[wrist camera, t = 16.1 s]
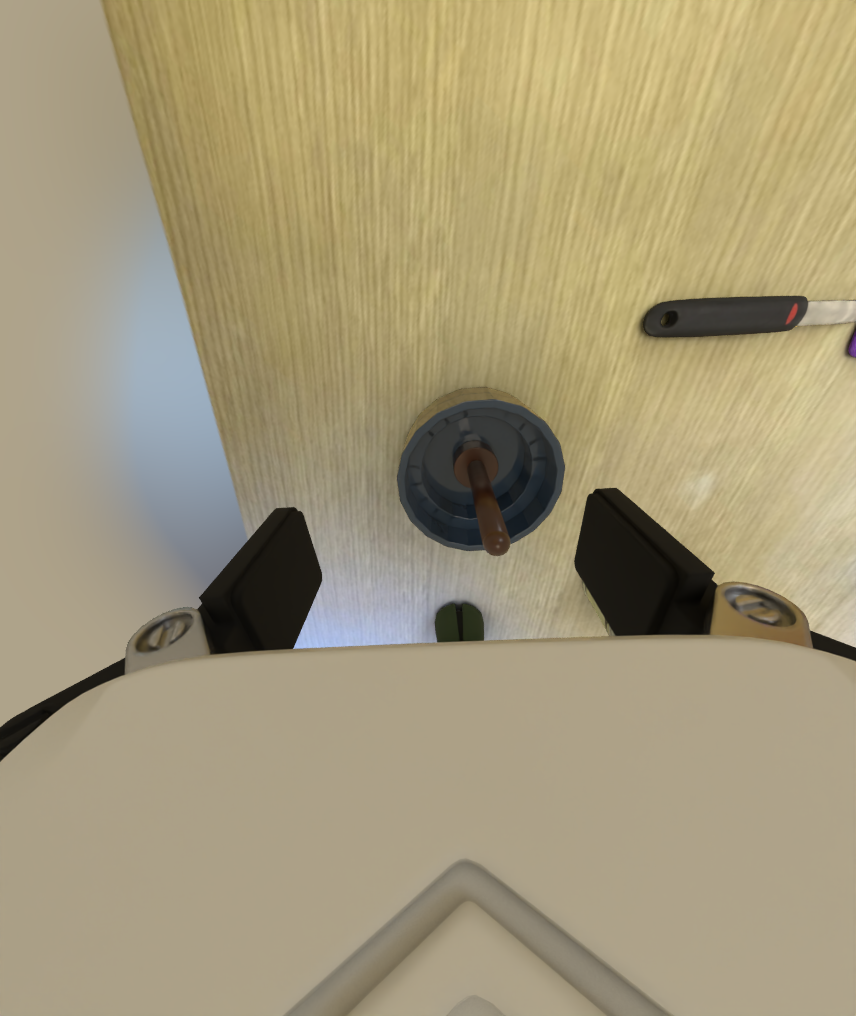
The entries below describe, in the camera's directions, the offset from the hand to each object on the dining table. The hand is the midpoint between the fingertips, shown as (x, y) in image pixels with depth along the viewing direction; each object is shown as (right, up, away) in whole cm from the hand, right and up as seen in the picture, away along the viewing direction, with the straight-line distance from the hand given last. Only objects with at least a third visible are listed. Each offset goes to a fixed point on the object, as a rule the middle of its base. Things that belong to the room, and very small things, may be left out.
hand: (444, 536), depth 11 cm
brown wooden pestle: (+4, +5, +19) cm, 21 cm away
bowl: (+4, +6, +20) cm, 21 cm away
